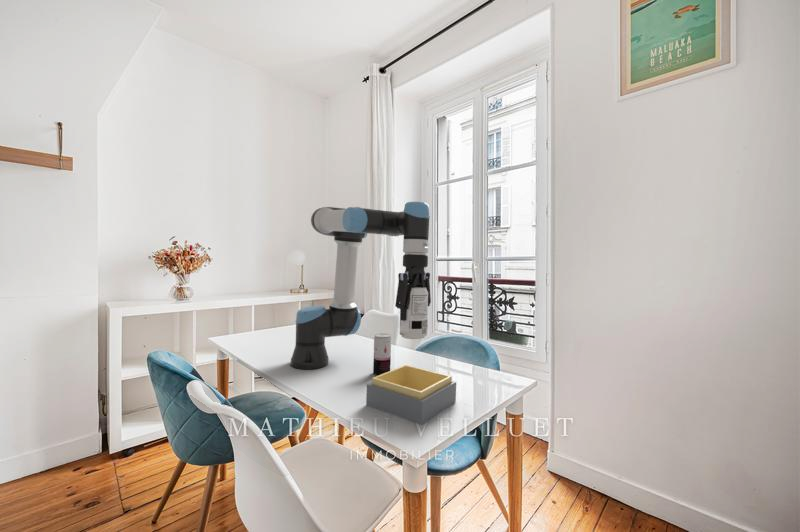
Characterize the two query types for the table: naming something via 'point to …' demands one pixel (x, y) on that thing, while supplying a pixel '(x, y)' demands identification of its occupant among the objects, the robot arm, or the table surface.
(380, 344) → the beverage can
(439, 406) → the outer crate
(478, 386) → the table surface
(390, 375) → the inner crate
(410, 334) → the supplement can
